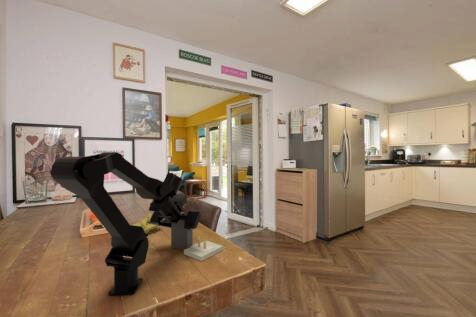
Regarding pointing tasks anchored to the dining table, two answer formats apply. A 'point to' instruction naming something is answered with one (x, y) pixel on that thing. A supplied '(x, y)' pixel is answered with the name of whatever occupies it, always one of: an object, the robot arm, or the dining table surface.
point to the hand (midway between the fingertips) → (183, 228)
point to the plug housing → (181, 236)
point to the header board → (203, 250)
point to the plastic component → (146, 224)
